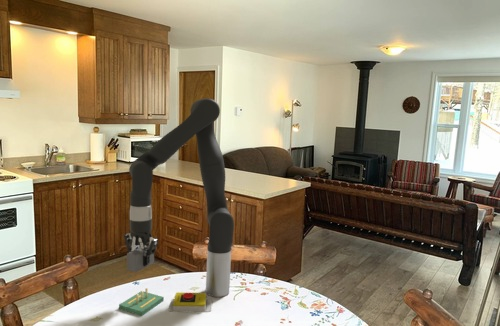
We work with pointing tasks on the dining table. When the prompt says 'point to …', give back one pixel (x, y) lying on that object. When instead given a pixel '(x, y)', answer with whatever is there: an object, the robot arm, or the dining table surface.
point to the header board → (141, 302)
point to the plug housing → (137, 260)
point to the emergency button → (190, 303)
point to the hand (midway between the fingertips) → (140, 263)
